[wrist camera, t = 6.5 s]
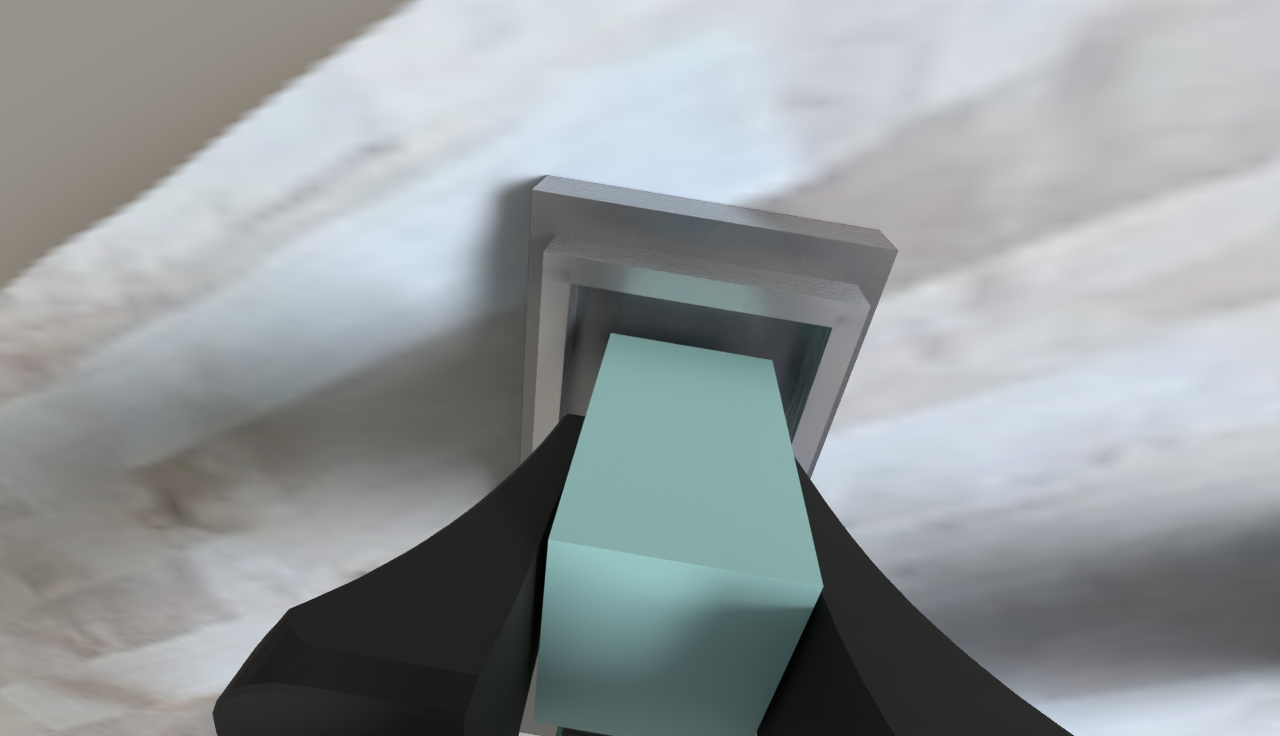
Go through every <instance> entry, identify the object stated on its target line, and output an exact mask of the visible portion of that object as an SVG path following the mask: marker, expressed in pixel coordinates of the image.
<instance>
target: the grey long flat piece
mask: <svg viewBox="0 0 1280 736" xmlns="http://www.w3.org/2000/svg"><path fill="white" fill-rule="evenodd" d="M897 253H898V250H897V249H896V247H895V246H894V245H893V244H892V243H891V242H890V241H889V240H888V239H887V238H886V237H885V236H884V235H883V234H882V233H881V232H880V230H874V229H868V228H862V227H856V226H850V225H844V224H838V223H832V222H826V221H820V220H814V219H808V218H802V217H796V216H790V215H784V214H778V213H772V212H766V211H760V210H754V209H748V208H742V207H736V206H730V205H724V204H718V203H712V202H706V201H700V200H694V199H688V198H682V197H676V196H670V195H663V194H657V193H651V192H645V191H639V190H633V189H627V188H621V187H615V186H609V185H603V184H597V183H591V182H585V181H579V180H573V179H567V178H561V177H555V176H549V175H547V176H546V177H545V178H544V179H543V180H542V181H541V182H540V183H538V184H537V185H536V186H535V187H534V188H533V189H532V193H531V217H530V240H529V263H528V286H527V310H526V333H525V356H524V379H523V403H522V426H521V449H520V465H521V464H522V463H523V462H524V461H525V460H526V459H527V458H528V457H529V456H530V455H531V454H532V453H533V451H534V450H535V449H536V448H537V447H538V446H539V445H540V444H541V443H542V442H543V441H544V439H545V438H546V437H547V436H548V435H549V434H550V432H551V431H552V430H553V429H554V428H555V426H556V425H557V424H558V422H559V421H560V420H561V418H562V417H563V416H565V415H566V414H568V413H569V414H575V415H580V416H586V413H587V410H588V407H589V403H590V400H591V397H592V394H593V390H594V387H595V384H596V380H597V377H598V374H599V370H600V367H601V364H602V360H603V357H604V354H605V351H606V347H607V344H608V341H609V337H610V334H611V333H614V334H619V335H625V336H631V337H637V338H643V339H649V340H655V341H661V342H667V343H673V344H679V345H685V346H691V347H697V348H703V349H709V350H715V351H720V352H726V353H732V354H738V355H744V356H750V357H756V358H762V359H768V360H772V361H773V366H774V370H775V374H776V379H777V383H778V388H779V392H780V397H781V401H782V405H783V410H784V414H785V419H786V423H787V428H788V432H789V436H790V441H791V445H792V450H793V454H794V456H795V458H796V459H797V460H798V462H799V463H800V465H801V466H802V468H803V469H804V471H805V472H806V474H807V475H808V477H809V478H811V476H812V473H813V471H814V468H815V465H816V463H817V460H818V458H819V455H820V452H821V450H822V447H823V445H824V442H825V439H826V437H827V434H828V432H829V429H830V426H831V424H832V421H833V419H834V416H835V414H836V411H837V408H838V406H839V403H840V401H841V398H842V395H843V393H844V390H845V388H846V385H847V382H848V380H849V377H850V375H851V372H852V369H853V367H854V364H855V362H856V359H857V356H858V354H859V351H860V349H861V346H862V344H863V341H864V338H865V336H866V333H867V331H868V328H869V325H870V323H871V320H872V318H873V315H874V312H875V310H876V307H877V305H878V302H879V299H880V297H881V294H882V292H883V289H884V286H885V284H886V281H887V279H888V276H889V273H890V271H891V268H892V266H893V263H894V261H895V258H896V255H897ZM538 658H539V651H538V656H537V660H536V664H535V668H534V672H533V676H532V680H531V684H530V689H529V693H528V697H527V701H526V706H525V710H524V714H523V718H522V723H521V727H520V731H519V732H522V733H528V734H534V735H540V736H611V735H605V734H599V733H593V732H588V731H582V730H576V729H570V728H565V727H559V726H553V725H547V724H542V723H536V722H533V717H534V705H535V693H536V681H537V670H538Z"/></svg>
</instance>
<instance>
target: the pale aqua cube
mask: <svg viewBox="0 0 1280 736" xmlns="http://www.w3.org/2000/svg"><path fill="white" fill-rule="evenodd" d="M822 589H823V582H822V578H821V573H820V569H819V565H818V560H817V556H816V551H815V547H814V542H813V538H812V534H811V529H810V525H809V520H808V516H807V512H806V507H805V503H804V498H803V494H802V489H801V485H800V481H799V476H798V472H797V467H796V463H795V458H794V454H793V450H792V445H791V441H790V436H789V432H788V428H787V423H786V419H785V414H784V410H783V405H782V401H781V397H780V392H779V388H778V383H777V379H776V374H775V370H774V366H773V361H772V360H768V359H762V358H756V357H750V356H744V355H738V354H732V353H726V352H720V351H715V350H709V349H703V348H697V347H691V346H685V345H679V344H673V343H667V342H661V341H655V340H649V339H643V338H637V337H631V336H625V335H619V334H614V333H611V334H610V337H609V341H608V344H607V347H606V351H605V354H604V357H603V360H602V364H601V367H600V370H599V374H598V377H597V380H596V384H595V387H594V390H593V394H592V397H591V400H590V403H589V407H588V410H587V413H586V417H585V420H584V423H583V427H582V430H581V433H580V437H579V440H578V443H577V446H576V450H575V453H574V456H573V460H572V463H571V466H570V470H569V473H568V476H567V480H566V483H565V486H564V490H563V493H562V496H561V499H560V503H559V506H558V509H557V513H556V516H555V519H554V523H553V526H552V529H551V533H550V536H549V539H548V550H547V562H546V574H545V586H544V598H543V610H542V622H541V634H540V646H539V658H538V670H537V681H536V693H535V705H534V717H533V722H536V723H542V724H547V725H553V726H559V727H565V728H570V729H576V730H582V731H588V732H593V733H599V734H605V735H611V736H755V734H756V732H757V730H758V727H759V725H760V723H761V721H762V719H763V717H764V714H765V712H766V710H767V708H768V706H769V704H770V701H771V699H772V697H773V695H774V693H775V691H776V688H777V686H778V684H779V682H780V680H781V678H782V675H783V673H784V671H785V669H786V667H787V665H788V662H789V660H790V658H791V656H792V654H793V652H794V649H795V647H796V645H797V643H798V641H799V639H800V636H801V634H802V632H803V630H804V628H805V626H806V623H807V621H808V619H809V617H810V615H811V613H812V610H813V608H814V606H815V604H816V602H817V600H818V597H819V595H820V593H821V591H822Z"/></svg>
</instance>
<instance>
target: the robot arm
mask: <svg viewBox="0 0 1280 736" xmlns="http://www.w3.org/2000/svg"><path fill="white" fill-rule="evenodd" d="M585 417H586V416H580V415H575V414H569V413H568V414H566V415H565V416H563V417H562V418H561V420H560V421H559V422H558V424H557V425H556V426H555V428H554V429H553V430H552V431H551V432H550V434H549V435H548V436H547V437H546V438H545V439H544V441H543V442H542V443H541V444H540V445H539V446H538V447H537V448H536V449H535V450H534V451H533V453H532V454H531V455H530V456H529V457H528V458H527V459H526V460H525V461H524V462H523V463H522V464H521V465H520V466H519V467H518V468H517V469H516V470H515V471H514V472H513V473H512V474H510V475H509V476H508V477H507V478H506V479H505V480H504V481H503V482H502V483H500V484H499V485H498V486H497V487H496V488H495V489H494V490H493V491H492V492H490V493H489V494H488V495H487V496H486V497H485V498H483V499H482V500H481V501H480V502H478V503H477V504H476V505H475V506H473V507H472V508H471V509H470V510H468V511H467V512H466V513H464V514H463V515H461V516H460V517H459V518H457V519H456V520H455V521H453V522H452V523H451V524H449V525H448V526H446V527H445V528H443V529H442V530H440V531H439V532H437V533H436V534H434V535H433V536H431V537H430V538H428V539H427V540H425V541H424V542H422V543H420V544H419V545H417V546H416V547H414V548H412V549H411V550H409V551H407V552H406V553H404V554H402V555H400V556H398V557H397V558H395V559H393V560H391V561H389V562H388V563H386V564H384V565H382V566H380V567H378V568H377V569H375V570H373V571H371V572H369V573H368V574H366V575H364V576H362V577H360V578H358V579H356V580H354V581H352V582H350V583H348V584H345V585H343V586H341V587H339V588H336V589H334V590H332V591H330V592H327V593H325V594H323V595H321V596H318V597H316V598H314V599H312V600H309V601H307V602H305V603H303V604H300V605H298V606H295V607H293V608H290V609H289V610H288V611H287V612H286V613H285V615H284V616H283V617H282V618H281V619H280V620H279V622H278V623H277V624H276V625H275V626H274V627H273V628H272V629H271V630H270V631H269V632H268V633H267V635H266V636H265V637H264V638H263V639H262V641H261V642H260V643H259V644H258V645H257V647H256V648H255V649H254V650H253V652H252V653H251V655H250V656H249V657H248V659H247V660H246V661H245V663H244V664H243V665H242V667H241V668H240V670H239V671H238V672H237V674H236V675H235V676H234V678H233V679H232V681H231V682H230V683H229V685H228V686H227V687H226V689H225V690H224V692H223V693H222V694H221V696H220V697H219V698H218V700H217V702H216V704H215V707H214V710H213V713H212V714H213V718H214V723H215V728H216V733H217V735H218V736H518V735H519V731H520V727H521V723H522V718H523V714H524V710H525V706H526V701H527V697H528V693H529V689H530V684H531V680H532V676H533V672H534V668H535V664H536V660H537V656H538V651H539V646H540V634H541V622H542V610H543V598H544V586H545V574H546V562H547V550H548V539H549V536H550V533H551V529H552V526H553V523H554V519H555V516H556V513H557V509H558V506H559V503H560V499H561V496H562V493H563V490H564V486H565V483H566V480H567V476H568V473H569V470H570V466H571V463H572V460H573V456H574V453H575V450H576V446H577V443H578V440H579V437H580V433H581V430H582V427H583V423H584V420H585ZM794 458H795V456H794ZM795 463H796V467H797V472H798V476H799V481H800V485H801V489H802V494H803V498H804V503H805V507H806V512H807V516H808V520H809V525H810V529H811V534H812V538H813V542H814V547H815V551H816V556H817V560H818V565H819V569H820V573H821V578H822V582H823V589H822V591H821V593H820V595H819V597H818V600H817V602H816V604H815V606H814V608H813V610H812V613H811V615H810V617H809V619H808V621H807V623H806V626H805V628H804V630H803V632H802V634H801V636H800V639H799V641H798V643H797V645H796V647H795V649H794V652H793V654H792V656H791V658H790V660H789V662H788V665H787V667H786V669H785V671H784V673H783V675H782V678H781V680H780V682H779V684H778V686H777V688H776V691H775V693H774V695H773V697H772V699H771V701H770V704H769V706H768V708H767V710H766V712H765V714H764V717H763V719H762V721H761V723H760V725H759V727H758V730H757V736H1074V735H1072V734H1071V733H1069V732H1068V731H1067V730H1065V729H1064V728H1062V727H1061V726H1060V725H1058V724H1057V723H1055V722H1054V721H1053V720H1051V719H1050V718H1048V717H1047V716H1046V715H1044V714H1043V713H1041V712H1040V711H1039V710H1037V709H1036V708H1034V707H1033V706H1032V705H1030V704H1029V703H1027V702H1026V701H1025V700H1023V699H1022V698H1021V697H1019V696H1018V695H1017V694H1015V693H1014V692H1013V691H1011V690H1010V689H1009V688H1008V687H1006V686H1005V685H1004V684H1003V683H1001V682H1000V681H999V680H998V679H996V678H995V677H994V676H993V675H991V674H990V673H989V672H988V671H986V670H985V669H984V668H983V667H981V666H980V665H979V664H978V663H977V662H975V661H974V660H973V659H972V658H971V657H969V656H968V655H967V654H966V653H965V652H964V651H962V650H961V649H960V648H959V647H958V646H957V645H955V644H954V643H953V642H952V641H951V640H950V639H949V638H948V637H947V636H945V635H944V634H943V633H942V632H941V631H940V630H939V629H938V628H937V627H936V626H934V625H933V624H932V623H931V622H930V621H929V620H928V619H927V618H926V617H925V616H924V615H923V614H922V613H921V612H920V611H919V610H917V609H916V608H915V607H914V606H913V605H912V604H911V603H910V602H909V601H908V600H907V599H906V597H905V596H904V595H903V594H902V593H901V592H900V591H899V590H898V589H897V588H896V587H895V586H894V585H893V584H892V583H891V582H890V581H889V580H888V579H887V578H886V577H885V575H884V574H883V573H882V572H881V571H880V570H879V569H878V568H877V567H876V565H875V564H874V563H873V562H872V561H871V560H870V558H869V557H868V556H867V555H866V554H865V552H864V551H863V550H862V549H861V547H860V546H859V545H858V544H857V543H856V541H855V540H854V539H853V538H852V536H851V535H850V534H849V533H848V531H847V530H846V529H845V527H844V526H843V525H842V524H841V522H840V521H839V519H838V518H837V517H836V515H835V514H834V513H833V511H832V510H831V509H830V507H829V506H828V504H827V503H826V502H825V500H824V499H823V497H822V496H821V494H820V493H819V491H818V490H817V489H816V487H815V486H814V484H813V483H812V481H811V480H810V478H809V477H808V475H807V474H806V472H805V471H804V469H803V468H802V466H801V465H800V463H799V462H798V460H797V459H796V458H795Z"/></svg>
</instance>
